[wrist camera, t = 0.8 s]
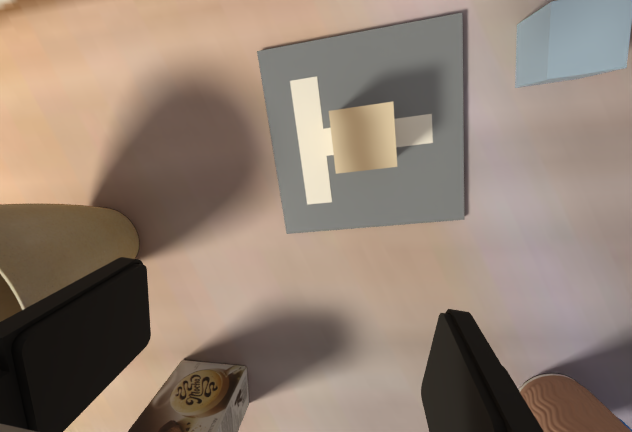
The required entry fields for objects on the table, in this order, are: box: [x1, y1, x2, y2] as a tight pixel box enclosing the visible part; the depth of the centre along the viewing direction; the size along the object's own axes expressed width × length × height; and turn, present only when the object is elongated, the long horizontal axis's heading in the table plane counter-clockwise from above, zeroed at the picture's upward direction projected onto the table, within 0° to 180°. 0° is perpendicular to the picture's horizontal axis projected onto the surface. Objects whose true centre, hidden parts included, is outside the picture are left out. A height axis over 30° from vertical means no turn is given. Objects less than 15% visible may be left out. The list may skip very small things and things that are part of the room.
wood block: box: [329, 102, 397, 174], centre depth 27 cm, size 5×5×5 cm
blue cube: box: [515, 0, 632, 88], centre depth 24 cm, size 5×5×5 cm
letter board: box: [257, 13, 464, 234], centre depth 30 cm, size 18×18×1 cm
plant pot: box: [0, 204, 139, 322], centre depth 30 cm, size 15×15×16 cm
